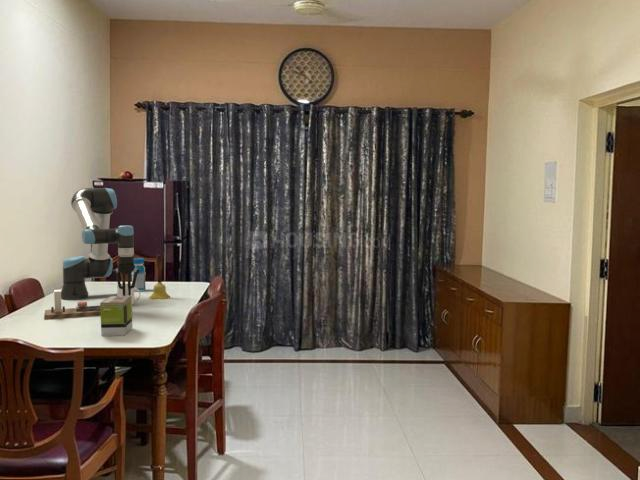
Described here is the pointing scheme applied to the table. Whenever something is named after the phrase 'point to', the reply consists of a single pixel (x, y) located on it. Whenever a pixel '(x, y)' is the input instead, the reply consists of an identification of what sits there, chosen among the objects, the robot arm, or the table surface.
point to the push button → (82, 304)
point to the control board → (72, 312)
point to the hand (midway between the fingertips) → (126, 301)
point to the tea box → (116, 315)
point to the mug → (120, 292)
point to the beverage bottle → (139, 274)
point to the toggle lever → (57, 299)
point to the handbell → (159, 283)
